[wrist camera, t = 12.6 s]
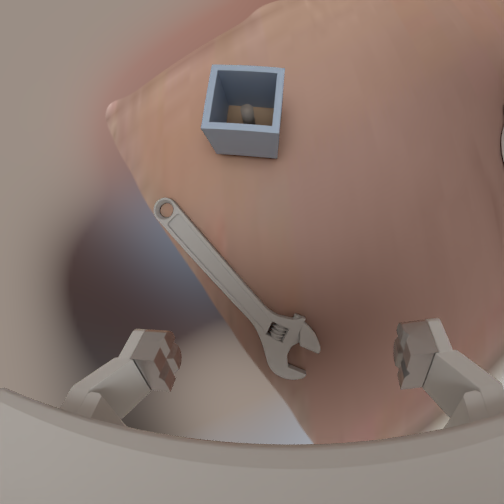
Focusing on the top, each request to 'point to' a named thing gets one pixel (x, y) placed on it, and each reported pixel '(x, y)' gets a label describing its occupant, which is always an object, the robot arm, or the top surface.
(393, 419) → the top surface
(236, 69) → the collar
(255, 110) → the post stand
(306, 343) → the adjustable wrench
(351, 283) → the top surface
